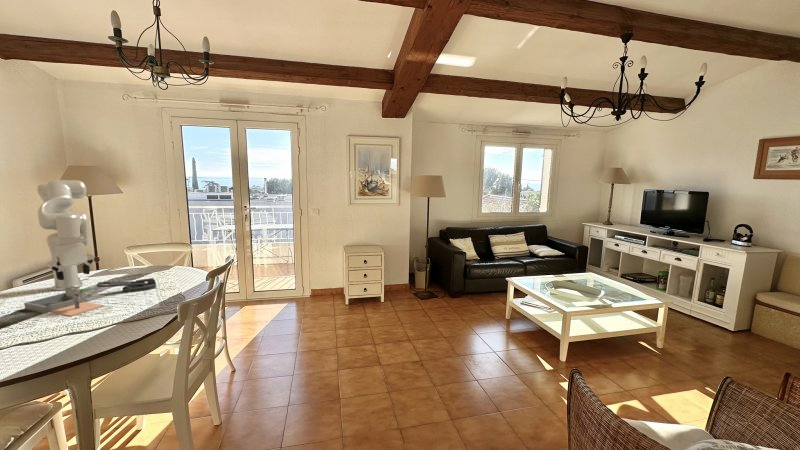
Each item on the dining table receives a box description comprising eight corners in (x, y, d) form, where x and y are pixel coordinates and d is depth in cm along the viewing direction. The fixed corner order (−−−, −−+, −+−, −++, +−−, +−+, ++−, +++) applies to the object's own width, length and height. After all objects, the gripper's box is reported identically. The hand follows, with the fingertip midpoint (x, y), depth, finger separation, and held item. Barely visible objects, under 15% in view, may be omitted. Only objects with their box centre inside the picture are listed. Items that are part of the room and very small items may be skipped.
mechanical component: (82, 310, 154) (79, 290, 152) (65, 308, 156) (62, 287, 154) (89, 308, 156) (86, 287, 155) (72, 305, 159) (70, 285, 157)
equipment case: (84, 293, 178) (84, 287, 177) (104, 296, 173) (104, 291, 173) (25, 309, 156) (24, 302, 155) (46, 313, 151) (45, 307, 151)
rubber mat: (84, 302, 164) (84, 301, 164) (103, 306, 160) (103, 305, 160) (50, 312, 152) (50, 311, 152) (70, 316, 148) (70, 315, 148)
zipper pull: (97, 281, 177) (154, 274, 193) (98, 293, 178) (155, 284, 194) (96, 286, 170) (155, 277, 186) (97, 298, 171) (156, 288, 187)
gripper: (86, 237, 161) (90, 271, 163) (39, 243, 145) (44, 281, 147) (97, 238, 159) (100, 272, 161) (50, 245, 143) (55, 283, 145)
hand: (74, 276), depth 154 cm, fingers open, 9 cm apart
